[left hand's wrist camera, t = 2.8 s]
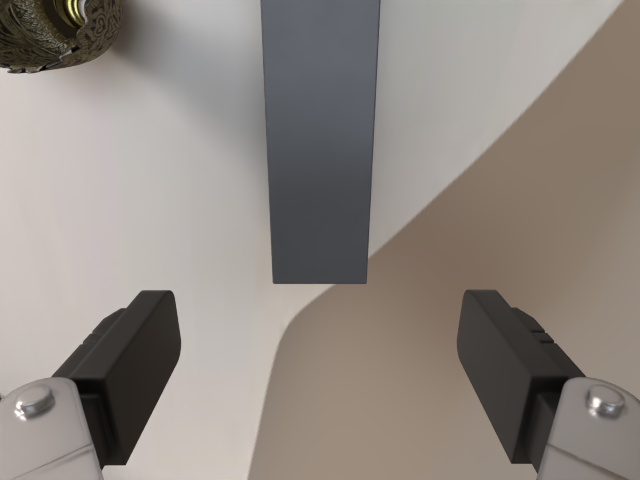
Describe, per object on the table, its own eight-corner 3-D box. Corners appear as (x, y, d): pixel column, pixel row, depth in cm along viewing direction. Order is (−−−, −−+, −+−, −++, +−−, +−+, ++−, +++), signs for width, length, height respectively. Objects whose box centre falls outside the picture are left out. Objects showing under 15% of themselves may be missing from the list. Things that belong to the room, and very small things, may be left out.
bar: (353, 229, 29) (366, 284, 21) (285, 229, 29) (272, 284, 21) (369, -258, 20) (404, -487, 12) (270, -259, 20) (239, -489, 12)
